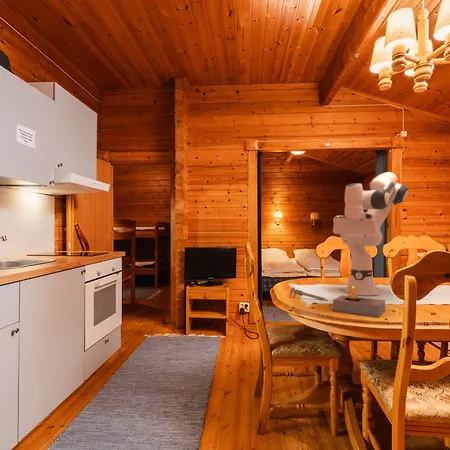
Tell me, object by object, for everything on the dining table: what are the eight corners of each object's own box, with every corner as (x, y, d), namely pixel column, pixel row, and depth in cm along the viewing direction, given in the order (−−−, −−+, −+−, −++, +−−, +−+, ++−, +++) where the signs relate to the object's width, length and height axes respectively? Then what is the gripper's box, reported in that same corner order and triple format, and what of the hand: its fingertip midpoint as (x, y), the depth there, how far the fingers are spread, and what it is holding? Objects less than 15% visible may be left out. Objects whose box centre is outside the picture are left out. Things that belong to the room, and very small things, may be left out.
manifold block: (342, 305, 172) (342, 295, 172) (385, 311, 160) (385, 300, 160) (333, 310, 160) (333, 300, 160) (378, 317, 149) (379, 305, 149)
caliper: (289, 297, 192) (289, 286, 192) (290, 297, 193) (290, 286, 193) (327, 301, 182) (327, 289, 183) (327, 300, 183) (327, 289, 183)
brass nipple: (347, 306, 165) (347, 285, 165) (356, 306, 164) (356, 286, 164) (348, 308, 161) (348, 287, 161) (357, 308, 160) (357, 287, 160)
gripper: (335, 215, 168) (335, 243, 168) (376, 215, 169) (376, 243, 169) (331, 215, 175) (331, 242, 174) (370, 215, 175) (370, 243, 175)
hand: (353, 243), depth 172 cm, fingers open, 8 cm apart
